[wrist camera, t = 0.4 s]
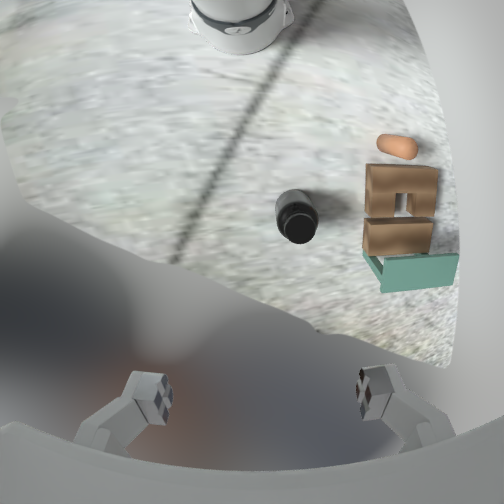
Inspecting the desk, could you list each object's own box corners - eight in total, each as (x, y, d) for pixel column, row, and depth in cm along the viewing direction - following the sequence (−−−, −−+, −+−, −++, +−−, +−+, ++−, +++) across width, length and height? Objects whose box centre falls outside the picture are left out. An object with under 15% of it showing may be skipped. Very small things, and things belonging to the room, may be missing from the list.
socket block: (365, 163, 51) (373, 166, 47) (428, 166, 50) (438, 169, 46) (362, 247, 58) (368, 256, 54) (420, 244, 57) (428, 252, 53)
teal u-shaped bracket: (361, 229, 56) (386, 260, 43) (424, 227, 55) (459, 255, 42) (359, 256, 58) (381, 293, 46) (421, 253, 57) (452, 285, 45)
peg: (376, 133, 48) (398, 136, 39) (393, 134, 48) (418, 138, 39) (376, 152, 50) (398, 159, 40) (393, 153, 49) (417, 160, 40)
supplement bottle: (274, 189, 53) (277, 206, 43) (311, 189, 53) (324, 207, 42) (274, 224, 56) (277, 250, 45) (310, 224, 56) (321, 250, 45)
